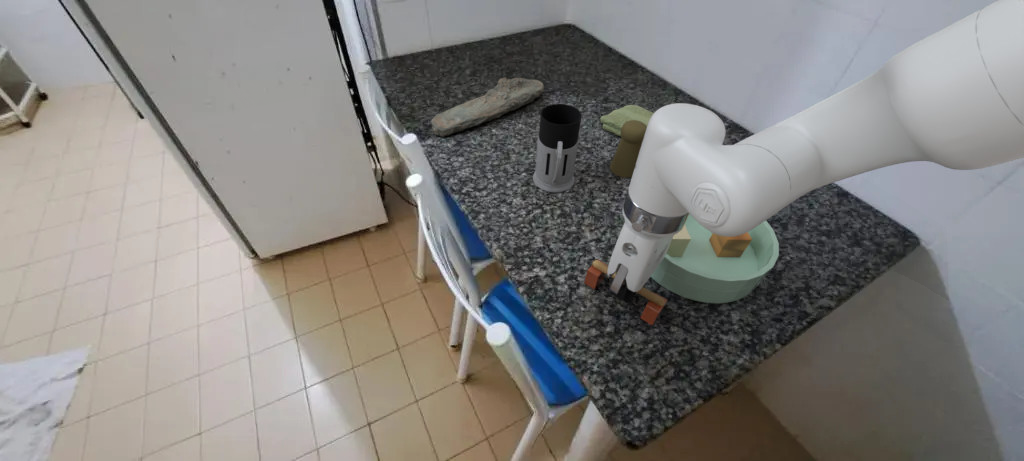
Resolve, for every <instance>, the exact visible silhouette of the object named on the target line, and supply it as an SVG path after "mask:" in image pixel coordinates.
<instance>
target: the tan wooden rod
mask: <svg viewBox="0 0 1024 461" xmlns="http://www.w3.org/2000/svg"><path fill="white" fill-rule="evenodd" d="M598 260H599V259H598ZM598 260H597V259H595V260H593V261H592V264H593V266H594V267H595V268H597V269H598V270H600V271H602V272H603V273H605V275H607V276H608V274H607V270H608V266H609V265H608V264H607V265H608V266H607V265H605V264H606V263H605V264H603V263H604V262H603V261H602V262H603V263H602V262H600V261H601V260H600V261H598ZM592 264H591V265H592ZM616 272H617V271H616ZM616 272H615V273H614V275H613V276H612V277H611V276H610V277H609V278H612V279H613V280H614V278H615V276H616ZM655 293H656V292H653V291H651V290H649V289H647V288H646V287H645V286H643V287H642V288H641V289H640V290H639V291H637V293H636V294H638V295H640V296H642V297H643V298H645V299H647V300H648V301H652V302H654V303H655V304H657V305H659V306H663V305H664V304H665V300H664V299H663V298H664V297H663V298H661V297H660V296H661V295H660V296H658V295H659V294H658V295H656V294H657V293H656V294H655ZM665 305H666V304H665Z"/></svg>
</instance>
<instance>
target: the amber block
mask: <svg viewBox="0 0 1024 461" xmlns="http://www.w3.org/2000/svg"><path fill="white" fill-rule="evenodd" d="M709 241H710V243H711V245H712V247H713V249H714V252H715V254H716V256H717V257H741V255H742V254H743V252H744V251H745V249H746V248H747V246H748V245H749V243H750V242H751V241H752V239H751V237H750V235H749V233H748V232H747V233H744V234H742V235H738V236H733V237H726V236H720V235H717V234H714V233H713V234H712V235H711V237H710V239H709Z"/></svg>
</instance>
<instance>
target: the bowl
mask: <svg viewBox="0 0 1024 461" xmlns="http://www.w3.org/2000/svg"><path fill="white" fill-rule="evenodd" d="M685 226H686V229H687V231H688V233H689V236H690V238H691V240H690V242H689V244H688V246H687V248H686V250H685V252H684V254H683V256H682V257H670V256H669V255H668V254H667V253H666V255H665V257H664V258H663V260H662V261H661V263H660V264H659V266H658V267H657V268H656V270H655V271H654V272H653V274H652V275H651V276H650V278H651V280H653V281H654V282H656V283H657V284H659V285H660V286H661V287H663V288H665V289H666V290H667V291H669V292H672V293H673V294H675V295H678V296H680V297H683V298H685V299H689V300H691V301H696V302H699V303H700V302H701V303H707V304H726V303H727V304H728V303H732V302H736V301H739V300H741V299H744V298H746V297H747V296H749V295H750V294H752V292H754V290H756V289H757V288H758V287H759V285H760V284H761V283H762V282H763V280H764V279H765V278H766V277H767V276H768V274H769V273H770V272H771V271H772V270H773V268H774V267H775V264H776V262H777V260H778V259H779V256H780V243H779V240H778V237H777V235H776V233H775V230H774V229H773V227H772V226H771V225H770V223H769V222H768V220H766V221H764V222H763V223H761V224H760V225H758V226H757V227H755V228H754V229H752V230H751V231H749V232H748V233H749V235H750V237H751V239H752V241H751V242H750V243H749V245H748V246H747V248H746V249H745V251H744V252H743V254H742V255H741V257H717V256H716V254H715V252H714V249H713V247H712V245H711V243H710V241H709V239H710V237H711V235H712V234H713V233H712V232H710V231H709V230H707V229H705V228H704V227H703V226H701V225H700V224H699V223H698V222H697V221H696V220H695V219H694V218H693V217H692V216H691V215H690V214H689V216H688V218H687V220H686V222H685Z"/></svg>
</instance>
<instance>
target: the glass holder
mask: <svg viewBox="0 0 1024 461" xmlns="http://www.w3.org/2000/svg"><path fill="white" fill-rule="evenodd" d="M582 117H583V115H582V112H581V111H580V110H579V109H578V108H577V107H575V106H573V105H570V104H565V103H553V104H549V105H546V106H545V107H543V108H542V109H541V111H540V118H539V128H538V129H539V130H538V133H537V145H536V158H535V160H536V161H535V171H534V172H533V175H532V181H533V183H534V184H535V186H536V187H537V188H539V189H541V190H542V191H545V192H550V193H561V192H565V191H568V190H570V189H571V188H572V187H573V186H574V184H575V175H574V173H575V167H576V161H577V160H576V159H577V154H578V148H579V142H580V129H581V123H582Z"/></svg>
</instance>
